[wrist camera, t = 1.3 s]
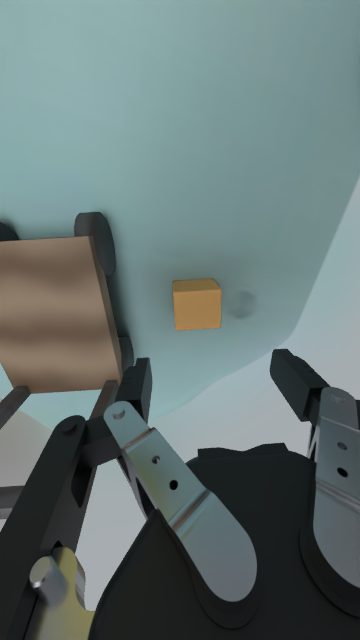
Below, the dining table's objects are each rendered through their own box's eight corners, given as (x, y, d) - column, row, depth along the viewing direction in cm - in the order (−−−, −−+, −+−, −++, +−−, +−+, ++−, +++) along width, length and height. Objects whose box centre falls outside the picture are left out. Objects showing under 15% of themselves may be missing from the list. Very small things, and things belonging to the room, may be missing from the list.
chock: (213, 278, 25) (221, 289, 21) (212, 310, 27) (220, 327, 23) (173, 280, 25) (172, 292, 21) (175, 313, 27) (175, 330, 23)
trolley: (-3, 220, 22) (-534, 199, 5) (108, 213, 22) (-89, 172, 6) (55, 369, 30) (-88, 540, 14) (135, 364, 30) (89, 529, 14)
